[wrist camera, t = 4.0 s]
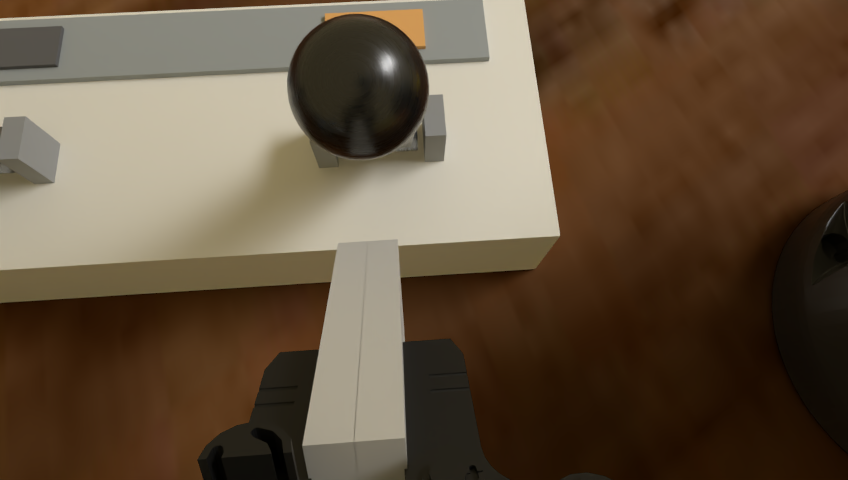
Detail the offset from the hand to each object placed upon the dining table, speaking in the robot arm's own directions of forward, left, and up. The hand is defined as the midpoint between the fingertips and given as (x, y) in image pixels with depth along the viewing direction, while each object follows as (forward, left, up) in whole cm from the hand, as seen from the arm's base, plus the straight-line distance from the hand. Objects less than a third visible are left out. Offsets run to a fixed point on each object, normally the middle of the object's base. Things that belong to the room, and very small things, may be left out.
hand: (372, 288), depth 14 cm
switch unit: (+6, -11, -12) cm, 17 cm away
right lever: (-2, -8, -6) cm, 10 cm away
